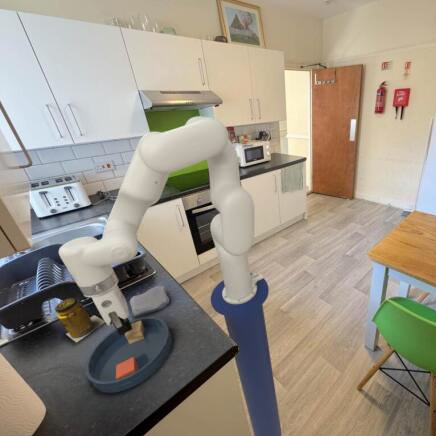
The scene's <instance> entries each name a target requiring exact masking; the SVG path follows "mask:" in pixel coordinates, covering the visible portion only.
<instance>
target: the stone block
mask: <svg viewBox="0 0 436 436" xmlns="http://www.w3.org/2000/svg"><path fill="white" fill-rule="evenodd" d="M129 304H130V307H131V314H132V315H133V316H134V317H139V316H142V315H143V316H144V315H146V314H150V313H154V312H156V311H159V310H163V309H164V308H165V307H166V306H168V305H169V304H170V298H169V296H168V294H167V291H166V288H165V286H164V285H156V286H154V287H152V288H150V289H148V290H146V291H145V292H143V293H141V294H140V293H139V294H138V295H137V294H136V295H134V296H132V297H131V298H130V300H129Z"/></svg>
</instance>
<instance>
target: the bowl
mask: <svg viewBox="0 0 436 436" xmlns="http://www.w3.org/2000/svg"><path fill="white" fill-rule="evenodd" d="M129 321H130V323H131V324H132V323H135V322H138V321H142V323H143V326H144V328H145V336H144V339H142V340H139V341H136V342H134V343H131V344H129V342H128V340H127V338H126V336H125V333H124V334H122V335H119V333H118V331H117V330H116V328H115V329H114V330H112V331H111V332H109V333H108V334H106V335H105V336H104V338H102V339H101V340H100V341H99V343H97V344H96V346H95V347H94V348H93V349H92V351H91V352H90V354H89V356H88V358H87V361H86V364H85V375H86V376H87V379H88V380H89V381H90V382H91V384H92V385H93V387H94V388H96V389H97V390H98V391H99V392H102V393H108V394H110V393H111V394H114V393H119V392H120V393H121V392H124V391H127V390H129V389H132V388H133V387H136V386H137V385H139V384H141V383H142V382H144V381H145V380H147V379H148V378H150V377H151V376H152V375H153V374H154V373H155V372H156V371H157V370H158V369H160V367H161V366H162V365H163V363H164V362H165V360H166V359H167V357H168V356H169V354H170V351H171V348H172V346H173V345H172V343H173V337H172V334H171V332H170V331H171V330H170V329H169V326H168V324H167V322H165V321H164V320H163V319H162V318H159V317H154V316H153V317H152V316H146V317H140V318H137V319H136V318H135V319H133V320H129ZM132 357H134V359H135V360H136V362H137V364H138V366H139V370H137V371H136V372H134V373H132V374H131V375H129V376H126V377H124V378H121V379H119V380H117V379H116V365H118V364H120V363H122V362H124V361H126V360H128V359H130V358H132Z"/></svg>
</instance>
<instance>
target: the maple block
mask: <svg viewBox="0 0 436 436" xmlns="http://www.w3.org/2000/svg"><path fill="white" fill-rule="evenodd" d="M131 325H132V330H130V331H128V332H126V333H125V336H126V338H127V340H128V342H129V344H131V343H134V342H136V341H139V340H142V339H144V336H145V328H144V326H143V323H142V321H138V322H135V323H132V324H131Z"/></svg>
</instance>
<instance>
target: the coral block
mask: <svg viewBox="0 0 436 436" xmlns="http://www.w3.org/2000/svg"><path fill="white" fill-rule="evenodd" d="M137 370H139V366H138V364H137V362H136V360H135V359H134V357H132V358H130V359H128V360H126V361H124V362H122V363H120V364H118V365H116V379H117V380H119V379H121V378H124V377H126V376H129V375H131V374H132V373H134V372H136V371H137Z"/></svg>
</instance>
